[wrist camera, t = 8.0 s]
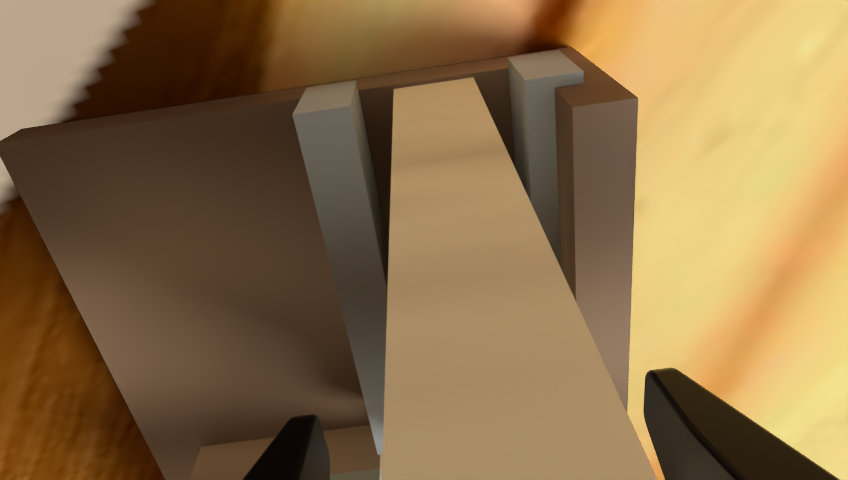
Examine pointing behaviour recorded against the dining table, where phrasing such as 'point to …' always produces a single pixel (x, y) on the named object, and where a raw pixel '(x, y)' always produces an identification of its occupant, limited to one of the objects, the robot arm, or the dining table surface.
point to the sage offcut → (358, 475)
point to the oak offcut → (230, 462)
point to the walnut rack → (302, 238)
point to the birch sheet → (485, 317)
